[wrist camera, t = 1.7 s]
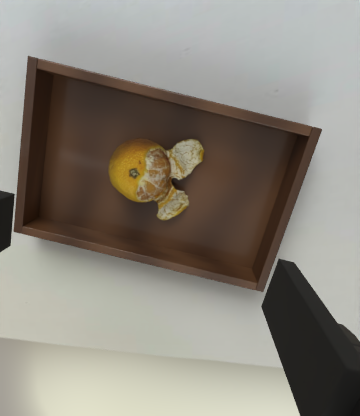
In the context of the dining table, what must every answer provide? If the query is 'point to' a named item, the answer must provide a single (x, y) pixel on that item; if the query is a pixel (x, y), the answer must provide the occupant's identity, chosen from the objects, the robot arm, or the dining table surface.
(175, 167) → the fruit
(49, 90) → the bin
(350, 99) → the dining table surface
